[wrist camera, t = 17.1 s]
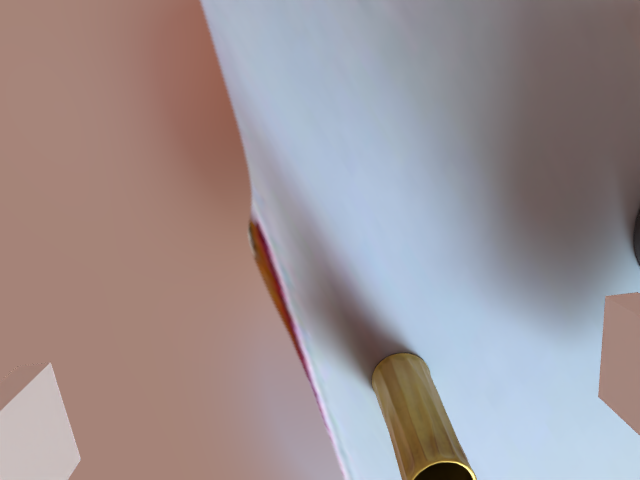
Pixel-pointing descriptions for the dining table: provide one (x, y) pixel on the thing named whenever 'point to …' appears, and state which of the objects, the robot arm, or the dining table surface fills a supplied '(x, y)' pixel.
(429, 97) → the dining table surface
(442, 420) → the vase
